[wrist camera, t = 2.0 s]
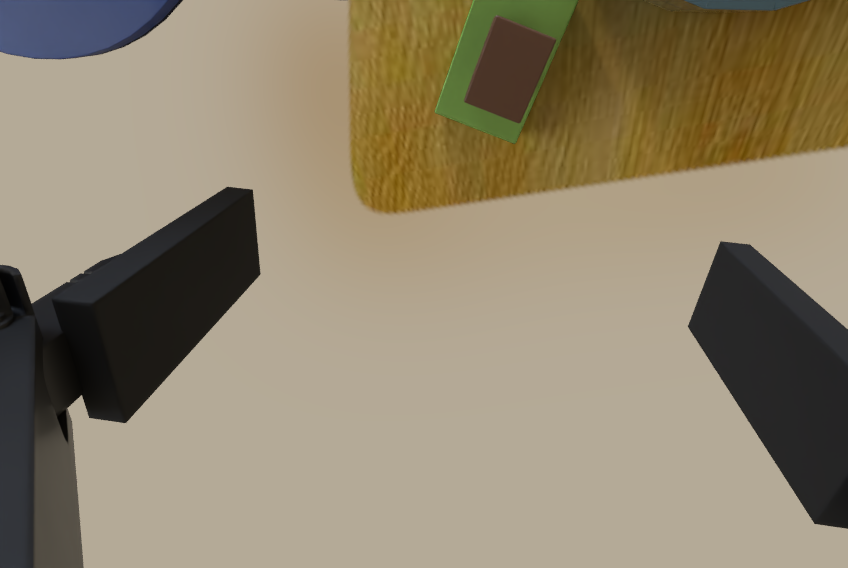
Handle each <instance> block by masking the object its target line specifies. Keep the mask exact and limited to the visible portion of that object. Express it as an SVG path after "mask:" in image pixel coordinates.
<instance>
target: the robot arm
mask: <svg viewBox="0 0 848 568" xmlns="http://www.w3.org/2000/svg"><path fill="white" fill-rule="evenodd" d="M259 275H260V265H259V254H258V243H257V233H256V221H255V210H254V199H253V190H250V189H241V188H232V187H226V188H225V189H223V190H222V191H220V192H218V193H217V194H216V195H214V196H212V197H210V198H209V199H207V200H206V201H204V202H203V203H201V204H200V205H198V206H196V207H195V208H193V209H192V210H190V211H189V212H187V213H185V214H184V215H182V216H181V217H179V218H178V219H176V220H174V221H173V222H171V223H169V224H168V225H166V226H165V227H163V228H162V229H160V230H158V231H157V232H155V233H154V234H152V235H151V236H149V237H147V238H146V239H144V240H143V241H141V242H140V243H138V244H136V245H135V246H133V247H132V248H130V249H129V250H127V251H125V252H124V253H122V254H119V255H116V256H114V257H111V258H108V259H105V260H102V261H100V262H99V263H97V264H95V265H94V266H92V267H90V268H89V269H87V270H86V271H84V274H79V275H78V276H76V277H74V278H73V279H71V280H70V283H69V282H66V283H65V284H63V285H61V286H60V287H58V288H57V289H55V290H53V291H52V292H50V293H49V294H47V295H45V296H44V297H42V298H40V299H39V300H37V301H36V302H34V303H32V304H31V301H30V299H29V296H28V293H27V290H26V287H25V284H24V281H23V278H22V275H21V273H20V272H19V270H18V269H17V268H13V267H11V266H6V265H0V568H83V555H82V544H81V530H80V519H79V518H80V517H79V505H78V493H77V479H76V468H75V454H74V441H73V429H72V421H71V418H70V415H69V412H68V409H67V408H68V407H69V406H70V405H71V404H72V403H73V402H74V401H75V400H76V399H78V398H79V397H80V396H81V395H82V396H83V399H84V403H85V406H86V409H87V412H88V415H89V418H94V419H101V420H108V421H115V422H122V423H126V422H127V421H128V420H129V419H130V418H131V417H132V416H133V415H134V413H135V412H136V411H137V410H138V409H139V408H140V407H141V406H142V405H143V403H144V402H145V401H146V400H147V399H148V398H149V397H150V396H151V395H152V394H153V392H154V391H155V390H156V389H157V388H158V387H159V386H160V385H161V384H162V382H163V381H164V380H165V379H166V378H167V377H168V376H169V375H170V374H171V372H172V371H173V370H174V369H175V368H176V367H177V366H178V365H179V364H180V363H181V362H182V360H183V359H184V358H185V357H186V356H187V355H188V354H189V353H190V352H191V350H192V349H193V348H194V347H195V346H196V345H197V344H198V343H199V341H200V340H201V339H202V338H203V337H204V336H205V335H206V334H207V333H208V332H209V331H210V329H211V328H212V327H213V326H214V325H215V324H216V323H217V322H218V321H219V319H220V318H221V317H222V316H223V315H224V314H225V313H226V312H227V311H228V310H229V308H230V307H231V306H232V305H233V304H234V303H235V302H236V301H237V300H238V299H239V297H240V296H241V295H242V294H243V293H244V292H245V291H246V290H247V289H248V287H249V286H250V285H251V284H252V283H253V282H254V281H255V280H256V279H257V278H258V276H259ZM688 327H689V329H690V331H691V332H692V334H693V335H694V337H695V338H696V340H697V341H698V343H699V345H700V346H701V348H702V349H703V351H704V352H705V354H706V356H707V357H708V359H709V360H710V362H711V363H712V365H713V366H714V368H715V370H716V371H717V373H718V374H719V375H720V377H721V379H722V380H723V382H724V384H725V385H726V387H727V388H728V390H729V391H730V393H731V394H732V396H733V397H734V399H735V401H736V402H737V404H738V405H739V407H740V408H741V410H742V412H743V413H744V414H745V416H746V418H747V419H748V421H749V422H750V424H751V426H752V427H753V429H754V430H755V432H756V433H757V435H758V436H759V438H760V439H761V441H762V443H763V444H764V446H765V447H766V449H767V450H768V452H769V454H770V455H771V457H772V458H773V460H774V461H775V463H776V464H777V466H778V467H779V469H780V471H781V472H782V474H783V475H784V477H785V478H786V480H787V481H788V483H789V485H790V486H791V488H792V489H793V491H794V492H795V494H796V496H797V497H798V499H799V500H800V502H801V503H802V505H803V506H804V508H805V510H806V511H807V513H808V514H809V516H810V517H811V518H812V520H813V522H814V524H820V525H827V526H833V527H841V528H847V529H848V329H846V328H845V327H844V326H843V325H842V324H841V323H839V322H838V321H837V320H836V319H835V318H834V317H833V316H831V315H830V314H829V313H828V312H827V311H826V310H825V309H823V308H822V307H821V306H820V305H819V304H818V303H816V302H815V301H814V300H813V299H812V298H811V297H810V296H808V295H807V294H806V293H805V292H804V291H803V290H801V289H800V288H799V287H798V286H797V285H796V284H795V283H793V282H792V281H791V280H790V279H789V278H788V277H787V276H785V275H784V274H783V273H782V272H781V271H780V270H778V269H777V268H776V267H775V266H774V265H773V264H771V263H770V262H769V261H768V260H767V259H766V258H765V257H763V256H762V255H761V254H760V253H759V252H758V251H757V250H755V249H754V248H753V247H752V246H751V245H748V244H738V243H730V242H720V244H719V247H718V250H717V253H716V255H715V257H714V260H713V263H712V265H711V268H710V270H709V273H708V276H707V278H706V281H705V283H704V286H703V289H702V291H701V294H700V296H699V299H698V302H697V304H696V307H695V310H694V312H693V315H692V317H691V320H690V322H689V325H688Z"/></svg>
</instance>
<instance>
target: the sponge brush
mask: <svg viewBox="0 0 848 568" xmlns="http://www.w3.org/2000/svg"><path fill="white" fill-rule="evenodd" d="M578 1H579V0H473V2H472V5H471V8H470V11H469V14H468V17H467V20H466V22H465V25H464V28H463V31H462V34H461V37H460V40H459V43H458V45H457V48H456V51H455V54H454V57H453V60H452V63H451V66H450V69H449V71H448V74H447V77H446V80H445V83H444V86H443V89H442V92H441V94H440V97H439V100H438V103H437V106H436V109H435V113H436V114H439V115H442V116H444V117H447V118H449V119H452V120H454V121H457V122H459V123H462V124H465V125H467V126H470V127H472V128H475V129H477V130H480V131H483V132H485V133H488V134H490V135H493V136H495V137H498V138H501V139H503V140H506V141H508V142H511V143H513V144H515V143H516V142H517V140H518V137H519V135H520V133H521V130H522V128H523V126H524V124H525V121H526V119H527V117H528V115H529V112H530V110H531V108H532V105H533V103H534V101H535V99H536V96H537V94H538V92H539V89H540V87H541V85H542V83H543V80H544V78H545V76H546V73H547V71H548V69H549V67H550V64H551V62H552V60H553V58H554V55H555V53H556V51H557V48H558V46H559V44H560V42H561V39H562V37H563V35H564V32H565V30H566V28H567V26H568V23H569V21H570V19H571V17H572V14H573V12H574V10H575V7H576V5H577V3H578Z"/></svg>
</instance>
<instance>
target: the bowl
mask: <svg viewBox="0 0 848 568" xmlns="http://www.w3.org/2000/svg"><path fill="white" fill-rule="evenodd" d="M643 1H646V2H648V3H651V4H653V5H655V6H658V7H660V8H663V9H665V10H668V11H669V10H670V11H681V12H721V13H726V12H756V11H774V10H778V9H782V8H785V7H789V6H792V5H795V4H799V3H802V2H806V1H809V0H643Z"/></svg>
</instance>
